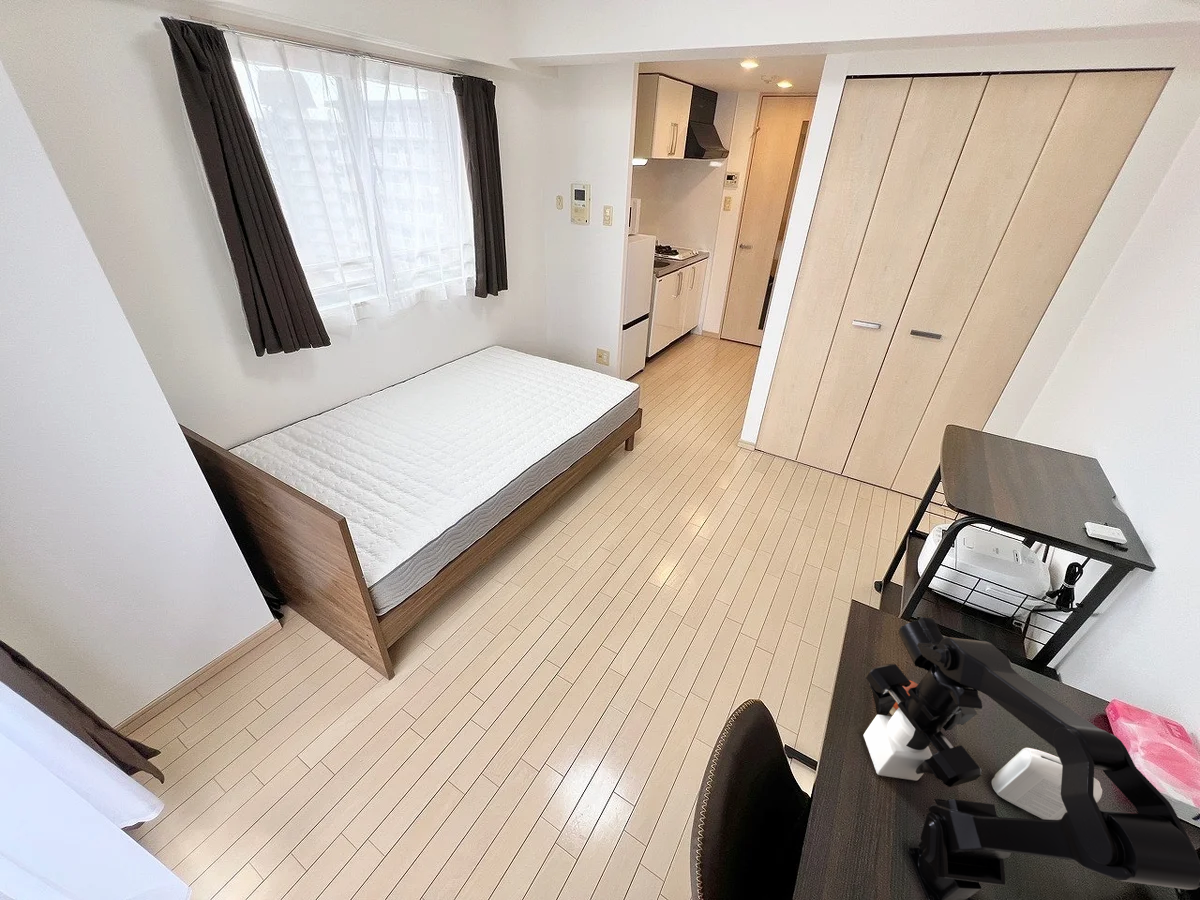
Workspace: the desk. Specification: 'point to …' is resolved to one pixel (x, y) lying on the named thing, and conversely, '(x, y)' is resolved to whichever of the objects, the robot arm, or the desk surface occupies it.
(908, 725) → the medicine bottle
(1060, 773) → the photo printer
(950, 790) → the desk surface
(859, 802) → the desk surface
